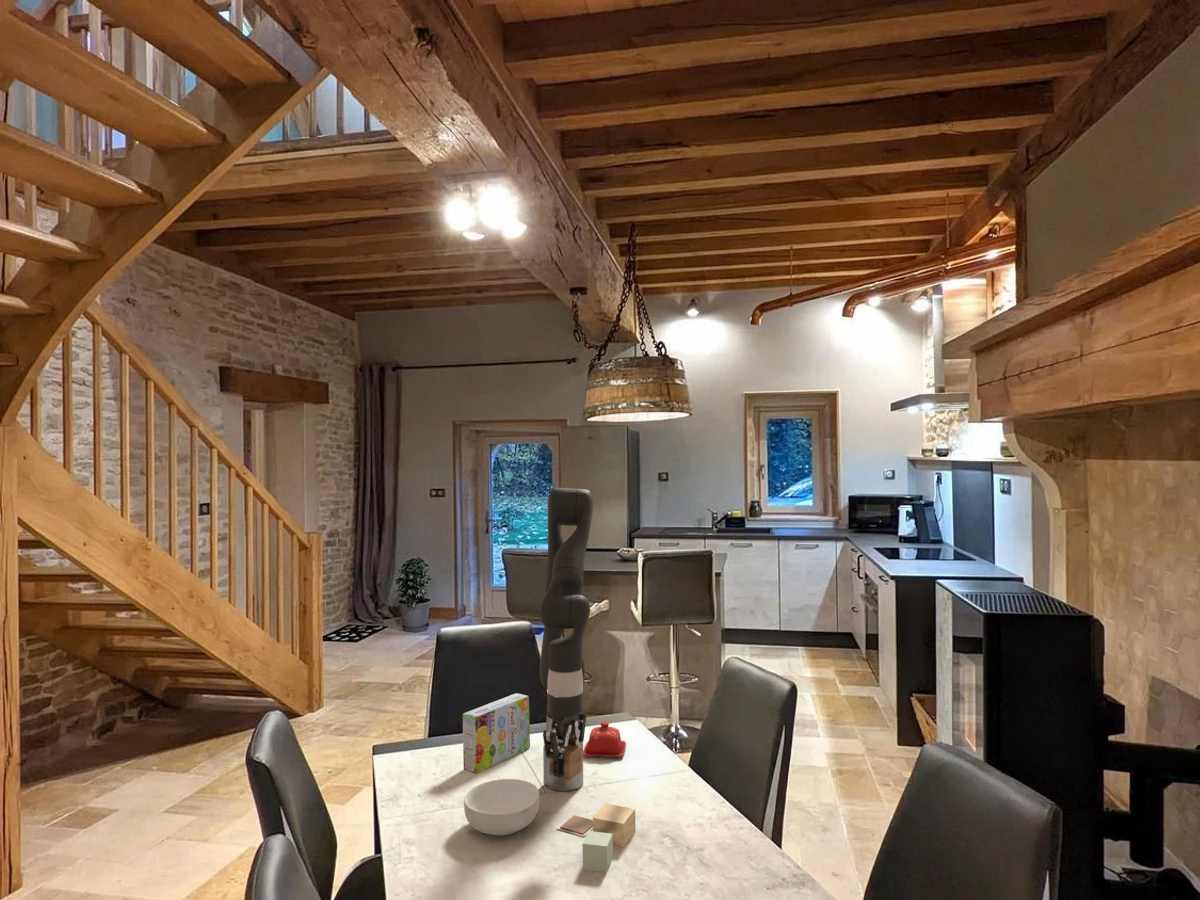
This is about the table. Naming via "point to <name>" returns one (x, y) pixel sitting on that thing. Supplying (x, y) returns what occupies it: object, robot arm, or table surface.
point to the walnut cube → (569, 762)
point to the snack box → (495, 732)
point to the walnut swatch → (577, 826)
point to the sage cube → (597, 851)
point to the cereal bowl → (501, 806)
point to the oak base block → (615, 823)
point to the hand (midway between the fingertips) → (565, 770)
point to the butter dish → (604, 742)
